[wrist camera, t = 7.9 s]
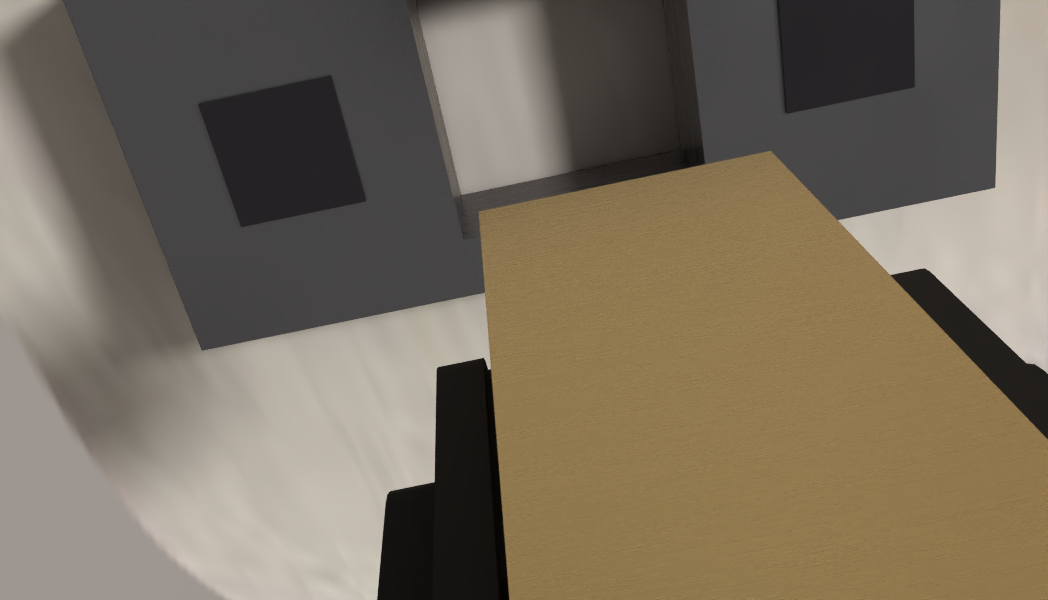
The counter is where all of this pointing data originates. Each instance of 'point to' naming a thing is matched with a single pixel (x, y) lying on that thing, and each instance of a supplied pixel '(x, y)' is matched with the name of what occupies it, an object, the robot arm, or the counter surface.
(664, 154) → the grey peg hole board
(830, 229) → the brass peg
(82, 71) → the counter surface
